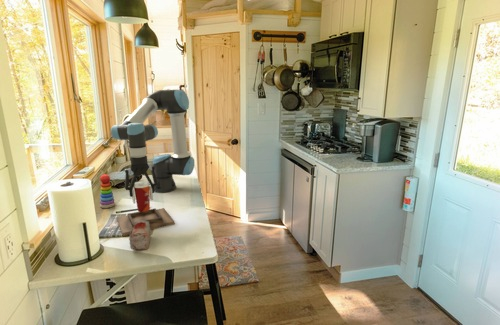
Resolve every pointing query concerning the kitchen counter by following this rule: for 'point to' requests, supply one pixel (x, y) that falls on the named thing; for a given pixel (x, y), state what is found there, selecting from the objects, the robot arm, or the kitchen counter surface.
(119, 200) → the kitchen counter surface
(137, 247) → the food item
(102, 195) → the stacking toy
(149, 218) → the assembly base
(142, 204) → the paper cup
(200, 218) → the kitchen counter surface
